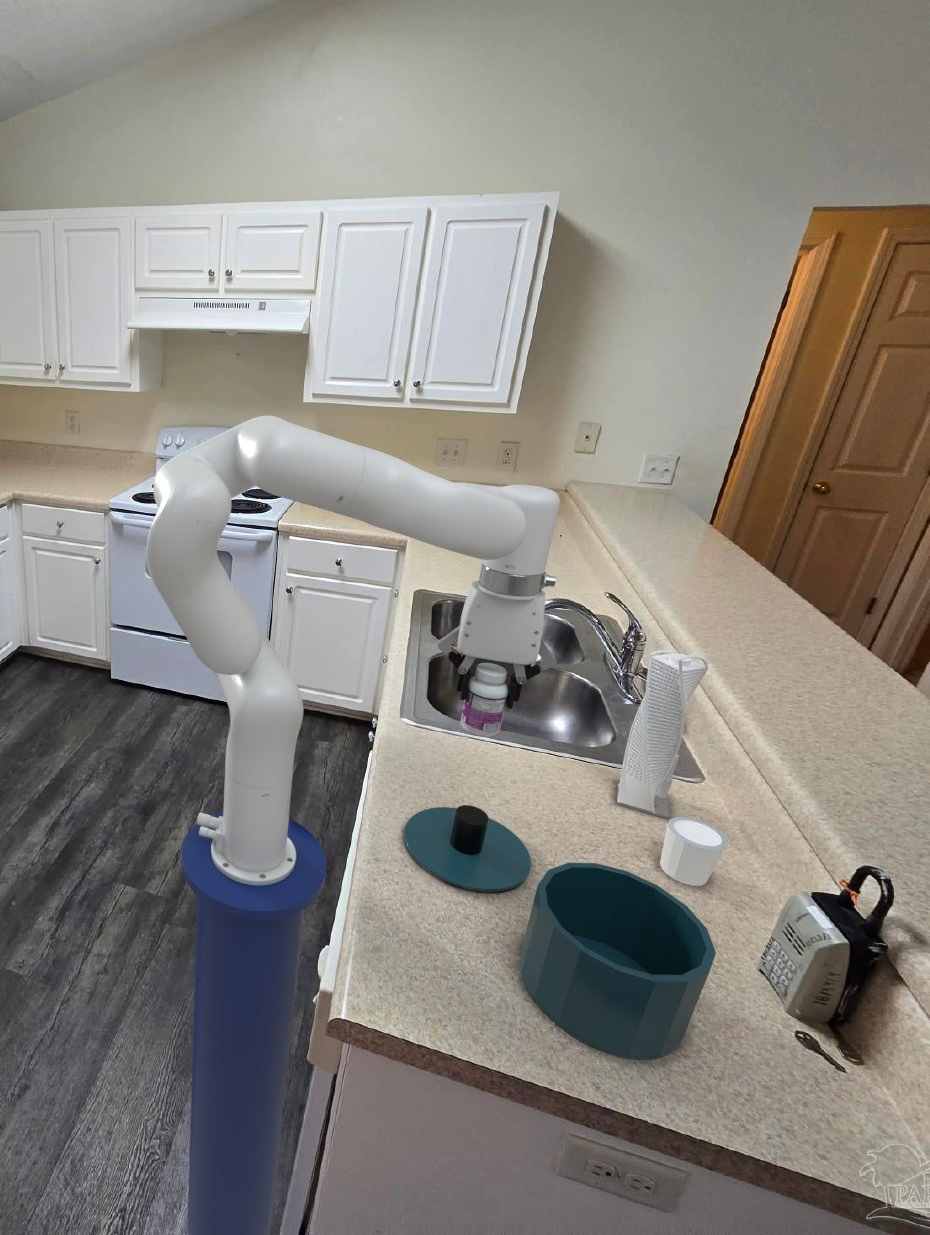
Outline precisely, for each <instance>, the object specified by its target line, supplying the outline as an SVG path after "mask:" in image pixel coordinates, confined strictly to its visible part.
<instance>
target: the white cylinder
mask: <svg viewBox="0 0 930 1235" xmlns="http://www.w3.org/2000/svg"><path fill="white" fill-rule="evenodd" d="M728 844H729V843H728V840H727V838H726V836H725V835H724V834H723V833H722V832H721V831H720V830H718V829H717V828H715V827H713V826H712V825H710V824H709V823H706V822H703V821H701V820H699V819H695V818H691V817H687V816H676V817H672V818H670V819H668V822H667V825H666V830H665V834H664V840H663V846H662V850H661V855H660V859H659V865H660V869H661V870H662V871H663V872H664V873H665V874H666V875H667V876H668V877H670V878H671V879H673V880H674V881H676V882H679V883H681V884H683V885H687V886H691V887H702V886H705V885H706V884H707V882H708V880H709V879H710V877H711V875H712V873H713V872H714V869H715V868H716V866H717V864H718V862H719V861H720V859H721V857H722V855H723V853H724V852H725V851H726V850H725V849H726V848H727V846H728Z"/></svg>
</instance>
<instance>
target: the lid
mask: <svg viewBox="0 0 930 1235" xmlns="http://www.w3.org/2000/svg"><path fill="white" fill-rule="evenodd" d="M403 837H404V843H405V845H406V848H407V850H408V852H409V853H410V855H411V856H412V858H414V860H415V861H416V862H417V863H418V864H419V865H420V866H421V867H423V868H424V869H425V870H427V871H428V872H429V873H430V874H432V875H433V876H436V877H437V878H439V879H441V880H443V881H445V882H447V883H450V884H452V885H454V886H458V887H461V888H463V889H468V890H471V891H479V892H487V893H489V892H503V891H508V890H512V889H514V888H516V887H519V886H520V885H521V884H523V883H524V882H525V881H526V880H527V878H528V877H529V875H530V872H531V869H532V860H531V856H530V855H531V854H530V853H529V850H528V849H527V847H526V846H525V844H524V842H522V840H521V839H520V838H519V837H518V836H517V835H516V834H515V833H514V832H512V831H511V830H510V829H509V828H507V827H506V826H505V825H503V824H502V823H500V822H498V821H497V820H495V819H493V818H491V817H489V816H488V814H487V813H486V812H485V811H484V810H483V809H481V808H480V807H477V806H475V805H471V804H463V805H459V806H458V807H451V806H449V807H448V806H443V807H442V806H441V807H439V806H438V807H430V808H427V809H423V810H421V811H418V812H417V813H415V814H414V815H411V817H410V818H409V819H408V820H407V822H406V824H405V827H404V830H403Z"/></svg>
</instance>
